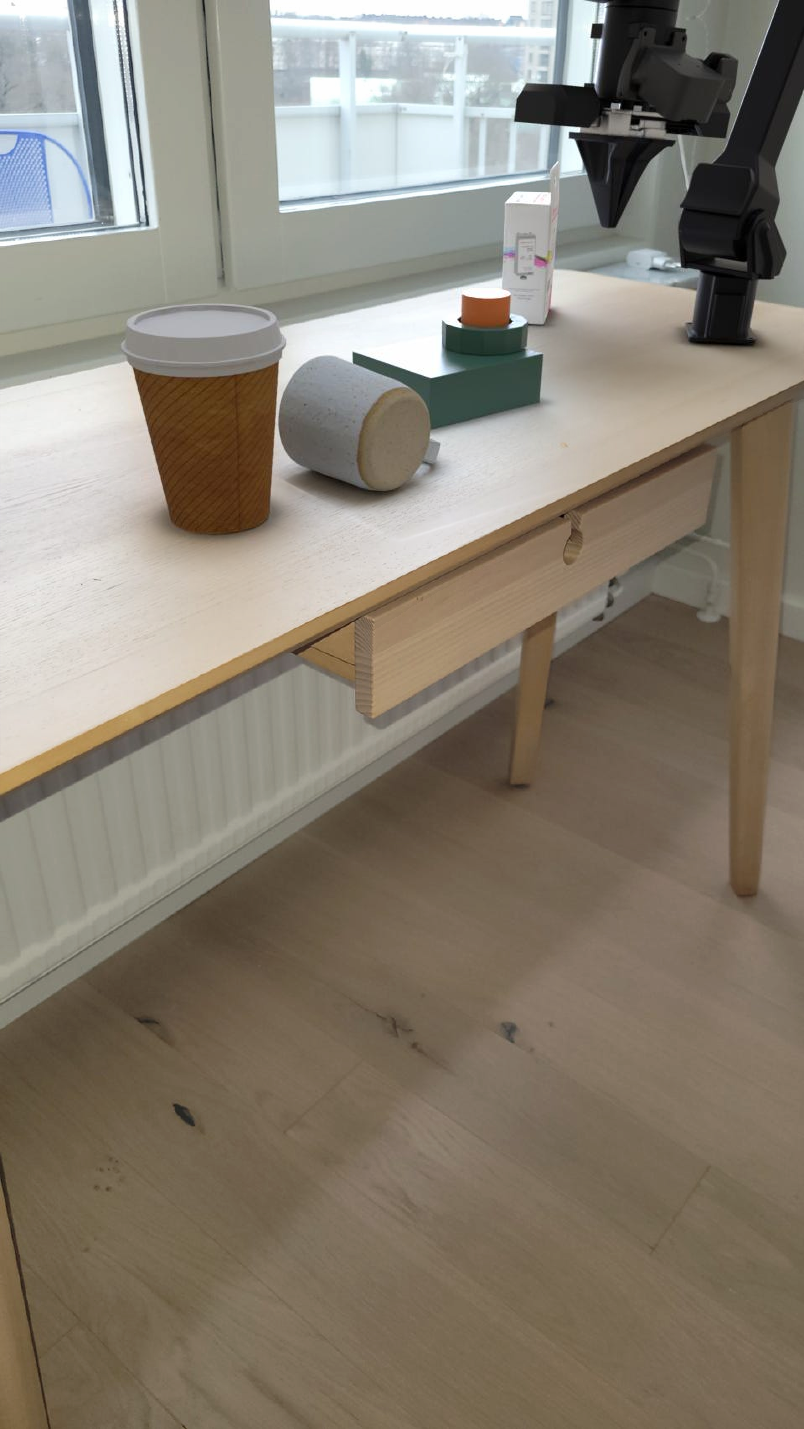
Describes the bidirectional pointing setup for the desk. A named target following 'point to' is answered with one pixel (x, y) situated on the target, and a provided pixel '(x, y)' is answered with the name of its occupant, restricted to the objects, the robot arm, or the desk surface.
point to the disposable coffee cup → (209, 408)
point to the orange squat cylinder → (485, 307)
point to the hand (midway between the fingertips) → (608, 228)
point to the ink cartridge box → (531, 250)
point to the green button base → (463, 369)
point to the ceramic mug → (355, 424)
